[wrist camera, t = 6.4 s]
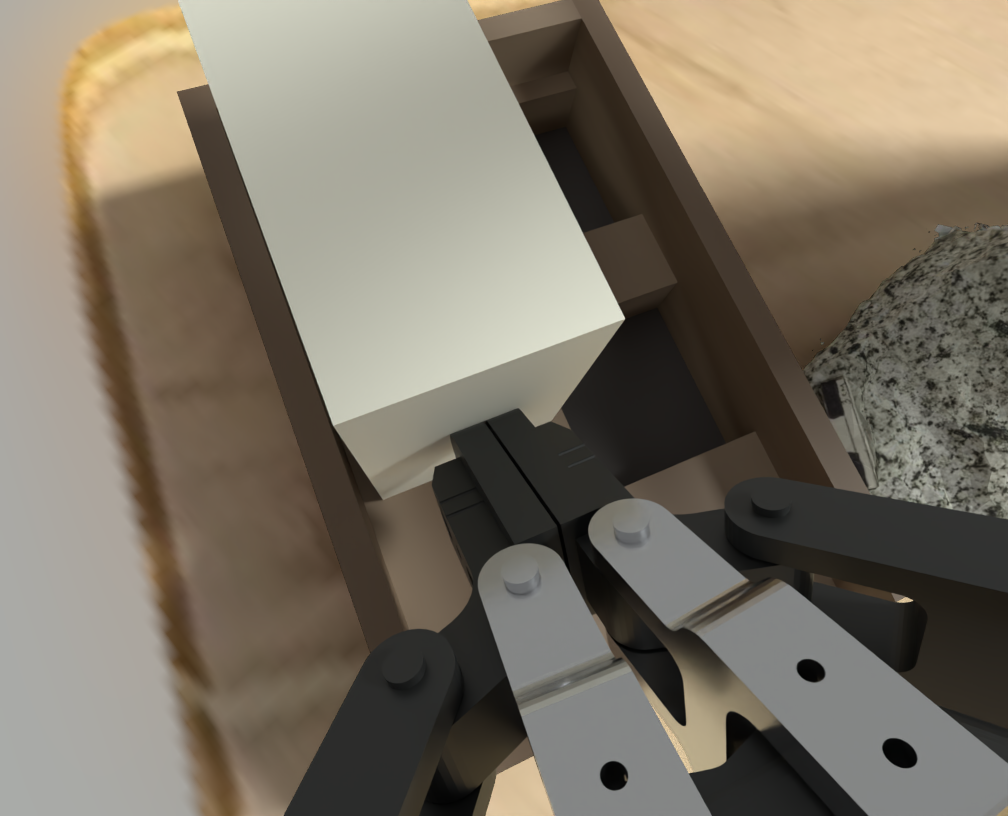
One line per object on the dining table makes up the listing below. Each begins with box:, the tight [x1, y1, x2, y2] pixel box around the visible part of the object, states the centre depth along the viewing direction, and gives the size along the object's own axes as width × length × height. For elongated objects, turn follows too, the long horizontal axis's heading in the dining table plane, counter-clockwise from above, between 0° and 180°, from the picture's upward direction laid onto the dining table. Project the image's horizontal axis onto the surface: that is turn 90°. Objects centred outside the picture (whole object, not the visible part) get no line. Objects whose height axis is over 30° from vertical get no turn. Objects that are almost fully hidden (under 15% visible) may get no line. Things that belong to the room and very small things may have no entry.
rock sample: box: [803, 222, 1008, 519], centre depth 18 cm, size 10×8×9 cm
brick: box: [178, 0, 625, 500], centre depth 14 cm, size 4×10×8 cm, turn 23°
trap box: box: [177, 0, 905, 774], centre depth 17 cm, size 12×19×4 cm, turn 23°
